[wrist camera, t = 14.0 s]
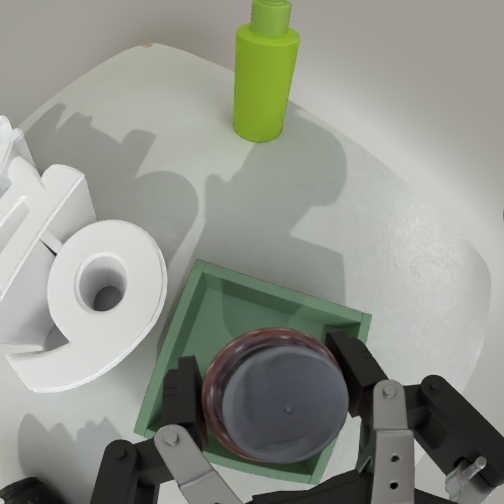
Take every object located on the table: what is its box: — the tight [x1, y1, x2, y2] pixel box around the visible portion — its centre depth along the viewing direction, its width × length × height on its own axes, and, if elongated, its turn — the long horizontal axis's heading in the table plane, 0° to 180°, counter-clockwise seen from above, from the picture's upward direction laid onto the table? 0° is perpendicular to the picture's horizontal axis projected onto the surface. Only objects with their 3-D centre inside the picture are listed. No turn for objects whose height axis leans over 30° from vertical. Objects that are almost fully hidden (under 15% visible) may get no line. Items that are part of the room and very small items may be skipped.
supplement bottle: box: [201, 327, 349, 464], centre depth 13 cm, size 6×6×11 cm
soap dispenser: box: [233, 0, 300, 142], centre depth 23 cm, size 6×7×20 cm
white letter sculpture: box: [0, 115, 167, 393], centre depth 20 cm, size 35×16×10 cm, turn 53°
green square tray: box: [134, 259, 372, 485], centre depth 20 cm, size 14×14×5 cm
